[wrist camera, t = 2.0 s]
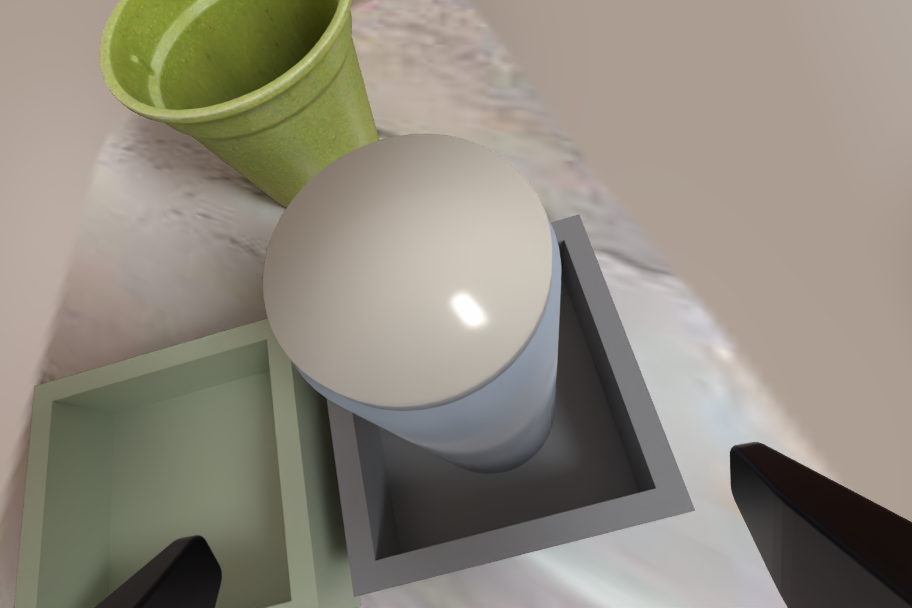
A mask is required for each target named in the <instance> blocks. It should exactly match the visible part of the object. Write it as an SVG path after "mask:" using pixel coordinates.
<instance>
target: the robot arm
mask: <svg viewBox="0 0 912 608" xmlns="http://www.w3.org/2000/svg"><path fill="white" fill-rule="evenodd" d="M730 474H731V490H732V494H733V497H734V500H735V502H736V504H737V506H738V508H739V510H740V512H741V514H742V517H743V519H744V521H745V523H746V525H747V527H748V529H749V531H750V533H751V535H752V537H753V539H754V542H755V544H756V546H757V548H758V550H759V552H760V554H761V556H762V558H763V560H764V562H765V564H766V567H767V569H768V571H769V573H770V575H771V577H772V579H773V581H774V583H775V585H776V587H777V589H778V591H779V593H780V595H781V597H782V598H783V600H784V602H785V604H786V605H787V607H788V608H912V522H911V521H909V520H907V519H905V518H903V517H901V516H899V515H897V514H895V513H893V512H892V511H890V510H888V509H886V508H884V507H882V506H880V505H878V504H876V503H874V502H872V501H871V500H869V499H867V498H865V497H863V496H861V495H859V494H857V493H855V492H854V491H852V490H850V489H848V488H846V487H844V486H842V485H840V484H838V483H836V482H835V481H833V480H831V479H829V478H827V477H825V476H823V475H821V474H819V473H817V472H816V471H814V470H812V469H810V468H808V467H806V466H804V465H802V464H800V463H798V462H797V461H795V460H793V459H791V458H789V457H787V456H785V455H783V454H781V453H779V452H778V451H776V450H774V449H772V448H770V447H768V446H766V445H764V444H762V443H759V442H752V443H746V444H740V445H735V446H733V447H732V448H731V451H730ZM221 581H222V571H221V567H220V565H219V563H218V561H217V559H216V557H215V555H214V554H213V552H212V550H211V548H210V546H209V545H208V543H207V541H206V539H205V538H204V537H202V536H201V535H194V536H188V537H182V538H179V539H176V540H175V541H173V542H172V543H171V544H170V545H168V546H167V547H166V548H165V549H164V550H162V551H161V552H160V553H159V554H158V555H157V556H155V557H154V558H153V559H152V560H151V561H149V562H148V563H147V564H146V565H145V566H143V567H142V568H141V569H140V570H139V571H137V572H136V573H135V574H134V575H133V576H131V577H130V578H129V579H128V580H127V581H125V582H124V583H123V584H122V585H121V586H119V587H118V588H117V589H116V590H115V591H113V592H112V593H111V594H110V595H109V596H107V597H106V598H105V599H104V600H103V601H101V602H100V603H99V604H98V605H97V606H96V607H94V608H215V606H216V602H217V598H218V594H219V590H220V586H221Z"/></svg>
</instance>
